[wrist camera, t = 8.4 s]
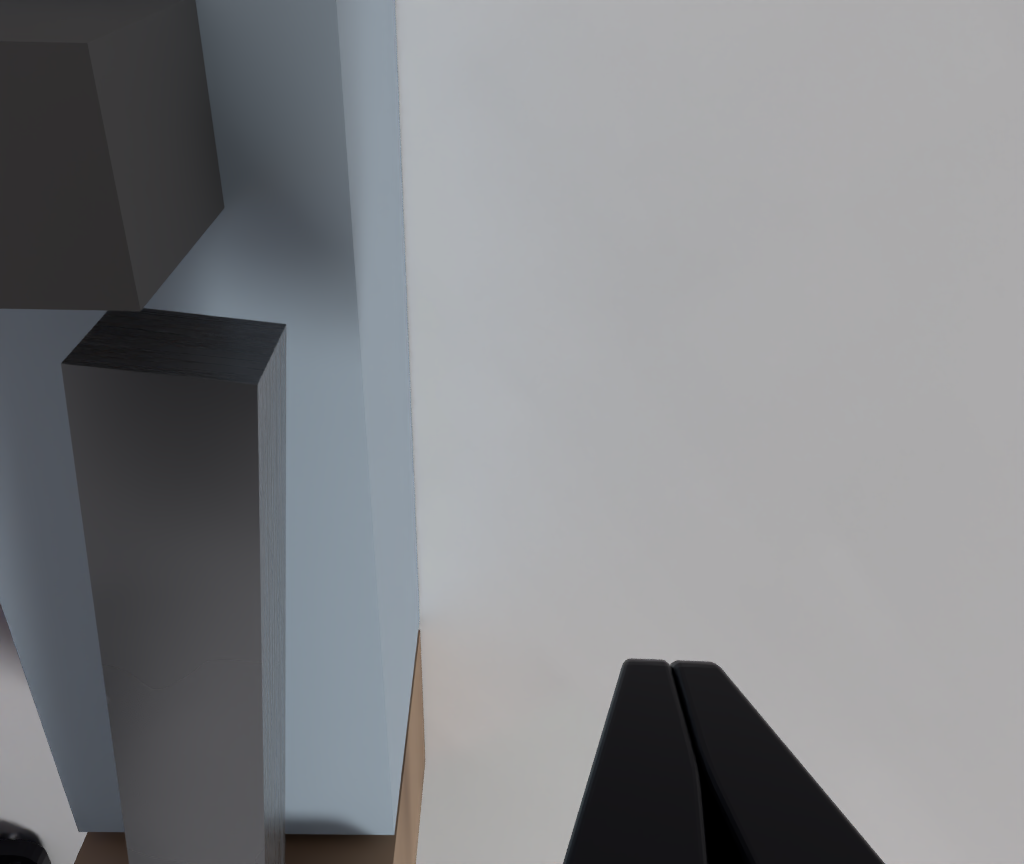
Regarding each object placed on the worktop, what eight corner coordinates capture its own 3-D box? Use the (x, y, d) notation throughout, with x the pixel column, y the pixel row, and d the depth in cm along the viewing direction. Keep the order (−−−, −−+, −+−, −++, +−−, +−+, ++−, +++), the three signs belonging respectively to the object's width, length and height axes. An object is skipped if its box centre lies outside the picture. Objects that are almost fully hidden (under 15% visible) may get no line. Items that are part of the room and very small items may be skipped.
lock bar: (311, 1033, 16) (292, 1144, 15) (166, 1024, 16) (133, 1135, 14) (332, 319, 9) (301, 401, 8) (77, 291, 9) (-2, 369, 8)
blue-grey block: (174, 615, 19) (3, 1001, 13) (12, -124, 13) (-525, -104, 6) (419, 619, 19) (375, 1004, 13) (390, -115, 13) (262, -86, 6)
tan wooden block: (205, 758, 22) (110, 1040, 16) (176, 627, 19) (57, 902, 14) (425, 760, 22) (399, 1042, 16) (420, 630, 19) (388, 905, 14)
